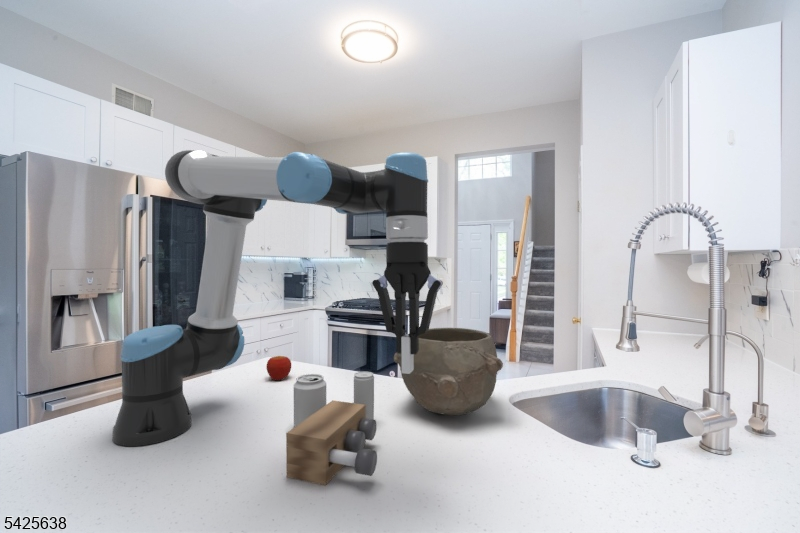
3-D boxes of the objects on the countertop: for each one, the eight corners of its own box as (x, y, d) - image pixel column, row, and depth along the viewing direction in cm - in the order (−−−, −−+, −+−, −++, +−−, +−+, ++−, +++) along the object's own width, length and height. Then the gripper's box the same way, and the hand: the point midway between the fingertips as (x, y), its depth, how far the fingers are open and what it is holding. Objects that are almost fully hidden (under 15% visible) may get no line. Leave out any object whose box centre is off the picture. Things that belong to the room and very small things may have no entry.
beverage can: (363, 418, 95) (363, 370, 94) (378, 423, 91) (378, 373, 91) (349, 424, 91) (349, 374, 91) (363, 430, 88) (363, 378, 88)
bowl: (379, 399, 108) (379, 328, 107) (465, 386, 119) (465, 322, 119) (422, 440, 83) (422, 348, 82) (526, 419, 94) (526, 338, 94)
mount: (286, 477, 69) (286, 432, 69) (332, 436, 85) (332, 400, 85) (325, 485, 66) (325, 439, 66) (365, 441, 82) (365, 404, 82)
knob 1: (306, 449, 75) (306, 428, 75) (317, 440, 79) (317, 420, 79) (356, 458, 71) (356, 437, 71) (365, 448, 75) (365, 428, 75)
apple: (296, 377, 127) (296, 354, 127) (277, 384, 121) (277, 359, 121) (280, 374, 132) (280, 351, 131) (261, 380, 125) (261, 356, 125)
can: (318, 436, 85) (318, 382, 84) (287, 433, 86) (287, 380, 86) (331, 422, 92) (331, 373, 92) (302, 420, 93) (302, 371, 93)
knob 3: (321, 435, 81) (321, 417, 81) (331, 428, 84) (331, 410, 84) (368, 443, 77) (368, 424, 77) (376, 435, 81) (376, 416, 81)
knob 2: (312, 469, 68) (312, 447, 68) (323, 458, 71) (323, 437, 71) (368, 480, 64) (368, 457, 64) (377, 468, 68) (377, 446, 68)
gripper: (365, 241, 67) (366, 374, 68) (438, 239, 63) (438, 380, 64) (380, 243, 75) (381, 363, 75) (446, 241, 71) (446, 368, 71)
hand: (407, 371), depth 69 cm, fingers closed
